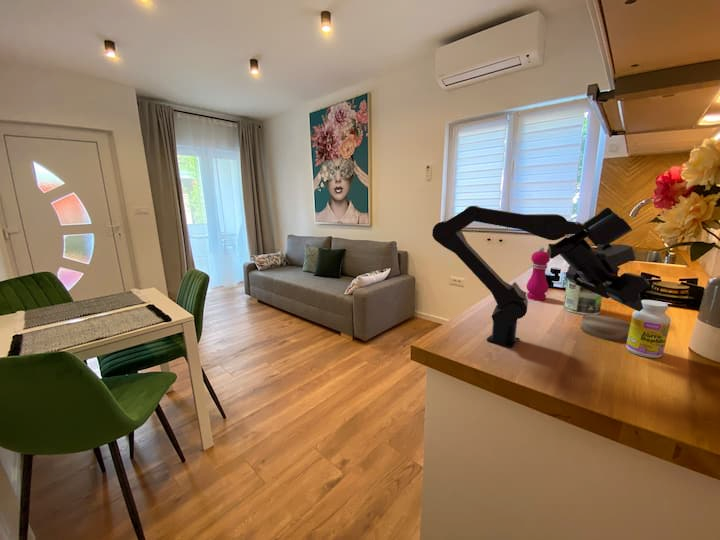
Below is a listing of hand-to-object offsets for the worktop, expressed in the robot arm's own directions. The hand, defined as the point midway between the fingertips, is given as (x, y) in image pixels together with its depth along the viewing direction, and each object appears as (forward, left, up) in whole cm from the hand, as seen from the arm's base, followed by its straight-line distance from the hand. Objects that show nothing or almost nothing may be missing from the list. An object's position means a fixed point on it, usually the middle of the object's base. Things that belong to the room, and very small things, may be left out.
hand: (623, 303), depth 70 cm
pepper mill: (+34, +27, -13) cm, 45 cm away
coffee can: (+30, +12, -13) cm, 35 cm away
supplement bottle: (+5, -5, -13) cm, 15 cm away
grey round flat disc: (+13, +4, -13) cm, 19 cm away
